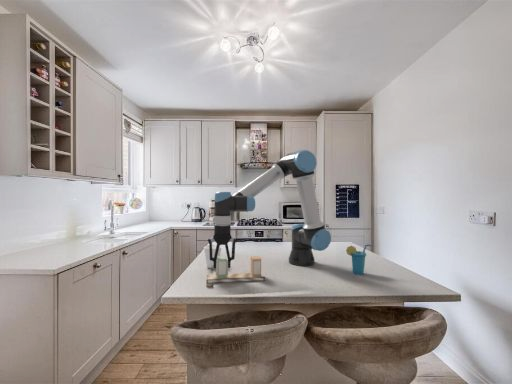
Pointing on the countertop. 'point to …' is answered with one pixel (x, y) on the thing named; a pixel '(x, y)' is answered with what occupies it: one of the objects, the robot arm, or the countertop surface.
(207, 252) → the cup
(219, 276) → the carton
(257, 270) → the faced carton
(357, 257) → the cup
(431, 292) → the countertop surface
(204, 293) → the countertop surface
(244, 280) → the wavy tan tray
